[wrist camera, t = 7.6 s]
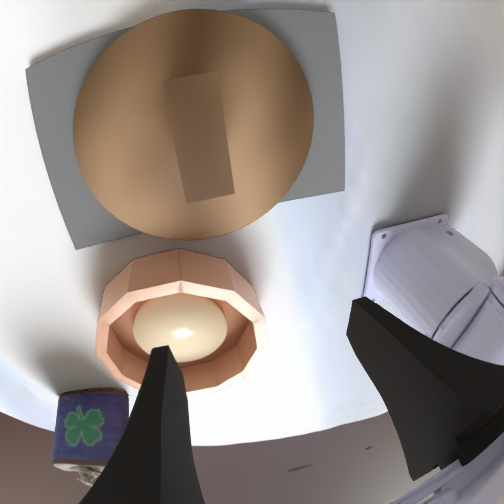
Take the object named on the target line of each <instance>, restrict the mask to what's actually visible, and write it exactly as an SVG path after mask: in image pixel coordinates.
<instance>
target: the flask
mask: <svg viewBox="0 0 504 504" xmlns="http://www.w3.org/2000/svg"><path fill="white" fill-rule="evenodd" d="M128 396H129V395H128V394H127V392H126V391H125V390H123V389H118V388H91V389H85V390H78V391H72V392H71V391H70V392H64V393H63V394H61V395H60V397H59V400H58V409H57V418H56V426H55V436H54V446H53V459H52V463H53V465H54V466H55V467H57V468H60V469H63V470H66V471H79V474H80V475H81V479H80V481H81V482H83V483H84V484H85V485H90V486H93V485H92V480H93V479H94V478H95V477H98V476H99V475H100V474H101V472H102V470H103V469H104V467H105V466H106V464H107V462H108V460H109V459H110V457H111V455H112V453H113V451H114V449H115V447H116V446H117V444H118V442H119V439H120V437H121V435H122V433H123V431H124V429H125V426H126V424H127V422H128V419H129V398H128ZM77 480H79V479H78V478H77Z"/></svg>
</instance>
